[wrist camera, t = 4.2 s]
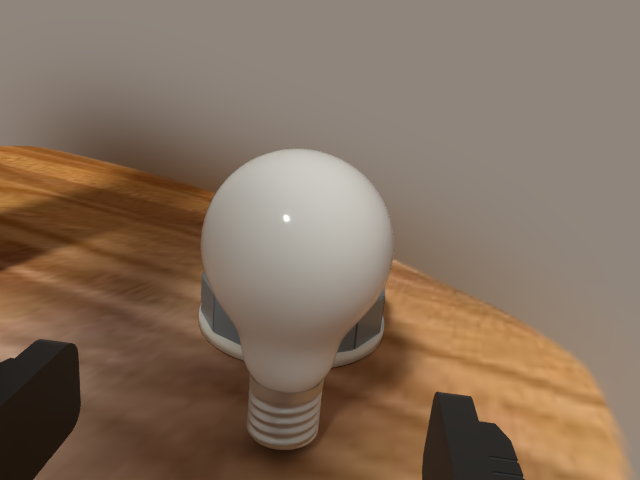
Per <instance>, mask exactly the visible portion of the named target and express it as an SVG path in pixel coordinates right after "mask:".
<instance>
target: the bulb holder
mask: <svg viewBox="0 0 640 480" xmlns="http://www.w3.org/2000/svg"><path fill="white" fill-rule="evenodd" d="M384 301H385V286H384V289H383V290H382V292H381V294H380V296H379V297H378V299H377V300H376V302H375V303H374V305H373V306H372V307H371V308H370V310H369V311H368V312H367V313H366V314H365V315H364V317H363V318H362V319H361V320H360V321H359V322H358V323H357V324H356V325H355V326H354V327H353V328H352V329H351V330H350V331H349V332H348V333H347V334H346V336H345V337H344V338H343V340H342V342H341V344H340V346H339V348H338V351H337V354H336V357H335V360H334V363H333V365H332V367H331V368H333V367H337V366H342V365H346V364H349V363H352V362H355V361H357V360H360V359H362V358H364V357H366V356H367V355H369V354H370V353H372V352H373V351H374V350H375V349H376V348H377V347H378V346H379V344H380V343H381V340H382V338H383V331H384V323H385V322H384V317H383V308H384ZM199 327H200V330H201V332H202V334H203V335H204V337H205V338H206V339H207V340H208V341H209V342H210V343H211V344H212V345H213V346H215V347H216V348H218V349H219V350H221V351H223V352H224V353H226V354H228V355H230V356H233V357H235V358H237V359H240V360H243V361H244V359H243V355H242V349H241V342H240V337H239V334H238V331H237V329H236V327H235V326H234V324H233V323H232V321H231V320H230V318H229V317H228V315H227V314H226V313H225V311H224V310H223V308H222V307H221V305H220V304H219V302H218V301H217V299H216V297H215V296H214V294H213V292H212V290H211V288H210V286H209V284H208V281H207V278H206V275H205V272H204V273H203V274H202V288H201V304H200V308H199Z"/></svg>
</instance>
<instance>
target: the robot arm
mask: <svg viewBox="0 0 640 480" xmlns="http://www.w3.org/2000/svg"><path fill="white" fill-rule="evenodd" d="M80 406H81V399H80V379H79V359H78V350H77V347H76V346H75V344H73V343H66V342H59V341H51V340H43V339H39V340H37V341H35V342H34V343H33V344H31V345H30V346H29V347H28V348H27V349H25V350H24V351H23V352H22V353H21V354H19V355H18V356H17V357H16V358H15V359H14V358H9V359H7V360H5V361H3V362H0V480H33V479H34V478H35V476H36V475H37V474H38V473H39V471H40V470H41V469H42V468H43V466H44V465H45V464H46V463H47V462H48V460H49V459H50V458H51V457H52V455H53V454H54V453H55V452H56V450H57V449H58V448H59V447H60V446H61V444H62V443H63V442H64V441H65V439H66V438H67V437H68V436H69V434H70V433H71V432H72V430H73V429H74V427H75V425H76V422H77V420H78V417H79V413H80ZM517 460H518V459H517V457H516V454H515V451H514V448H513V445H512V443H511V441H510V439H509V438H508V437H507V436H506V435H505V434H504V433H503V432H502V431H501V430H500V428H499V427H498V426H497V425H496V424H494V423H487V422H479V420H478V417H477V413H476V410H475V406H474V403H473V400H472V397H471V396H464V395H457V394H449V393H441V392H436V393H435V395H434V399H433V404H432V409H431V415H430V420H429V426H428V431H427V437H426V442H425V448H424V454H423V465H422V480H525V479H523V473H522V470H521V468H520V465H519V463H517Z"/></svg>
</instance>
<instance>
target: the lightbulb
mask: <svg viewBox="0 0 640 480" xmlns="http://www.w3.org/2000/svg"><path fill="white" fill-rule="evenodd" d="M393 252H394V239H393V230H392V225H391V220H390V217H389V214H388V211H387V208H386V206H385V204H384V202H383V200H382V198H381V196H380V195H379V193H378V191H377V190H376V188H375V187H374V186H373V184H372V183H371V182H370V181H369V180H368V179H367V178H366V177H365V176H364V175H363V174H362V173H361V172H360V171H359V170H357V169H356V168H355V167H353V166H352V165H350V164H348V163H347V162H345V161H344V160H342V159H340V158H337V157H335V156H333V155H330V154H327V153H324V152H320V151H316V150H309V149H285V150H278V151H274V152H270V153H267V154H264V155H261V156H259V157H257V158H254V159H253V160H251V161H249V162H247V163H246V164H244V165H243V166H241V167H240V168H238V169H237V170H236V171H235V172H233V174H231V175H230V176H229V177H228V178H227V179H226V180H225V182H224V183H223V184H222V185H221V186H220V188H219V189H218V191H217V192H216V194H215V195H214V197H213V199H212V201H211V203H210V205H209V207H208V210H207V212H206V215H205V218H204V222H203V227H202V233H201V258H202V264H203V269H204V272H205V275H206V278H207V281H208V284H209V286H210V288H211V290H212V292H213V294H214V296H215V297H216V299H217V301H218V302H219V304H220V305H221V307H222V308H223V310H224V311H225V313H226V314H227V315H228V317H229V318H230V320H231V321H232V323H233V324H234V326H235V327H236V329H237V331H238V334H239V337H240V342H241V349H242V355H243V359H244V362H245V365H246V367H247V369H248V371H249V373H250V375H249V387H250V390H249V400H248V407H249V409H248V412H247V416H248V419H247V430H248V433H249V435H250V436H251V437H252V438H253V439H254V440H255V441H256V442H258V443H259V444H261V445H263V446H265V447H268V448H271V449H276V450H293V449H297V448H301V447H303V446H305V445H307V444H309V443H310V442H311V441H313V440H314V438H315V437H316V435H317V433H318V426H319V417H320V407H321V397H322V389H323V384H324V378H325V377H326V375H327V374H328V373H329V371H330V369H331V367H332V365H333V363H334V360H335V357H336V354H337V351H338V348H339V346H340V344H341V342H342V340H343V338H344V337H345V336H346V334H347V333H348V332H349V331H350V330H351V329H352V328H353V327H354V326H355V325H356V324H357V323H358V322H359V321H360V320H361V319H362V318H363V317H364V315H365V314H366V313H367V312H368V311H369V310H370V308H371V307H372V306H373V305H374V303H375V302H376V300H377V299H378V297H379V296H380V294H381V292H382V290H383V289H384V286H385V284H386V282H387V279H388V277H389V274H390V270H391V266H392V261H393Z"/></svg>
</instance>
